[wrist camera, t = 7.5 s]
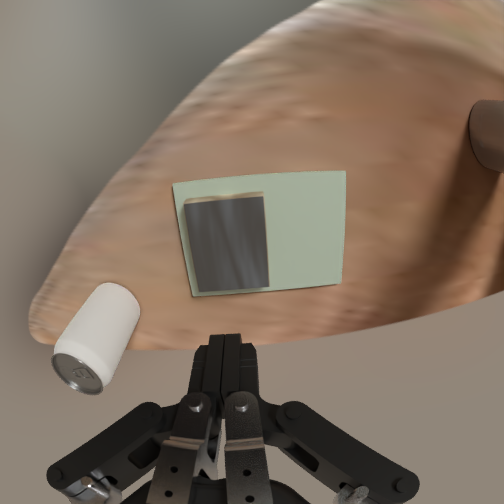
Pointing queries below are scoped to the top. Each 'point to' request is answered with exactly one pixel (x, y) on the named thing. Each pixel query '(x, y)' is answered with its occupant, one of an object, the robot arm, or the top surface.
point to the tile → (228, 241)
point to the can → (96, 339)
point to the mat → (284, 225)
